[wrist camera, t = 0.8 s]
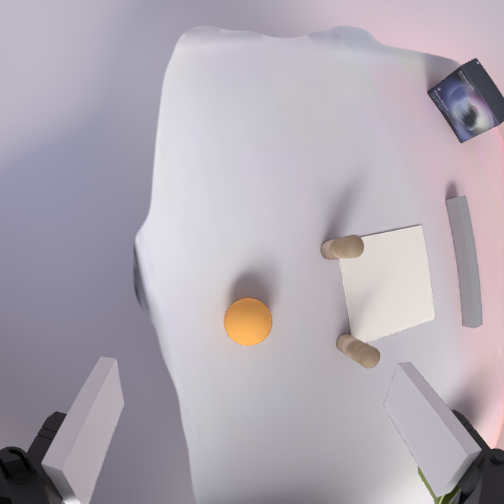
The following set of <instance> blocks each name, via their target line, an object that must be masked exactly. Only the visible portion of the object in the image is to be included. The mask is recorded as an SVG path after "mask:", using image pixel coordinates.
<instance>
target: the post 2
mask: <svg viewBox="0 0 504 504" xmlns="http://www.w3.org/2000/svg"><path fill="white" fill-rule="evenodd" d="M336 345H337V348H338V349H339V350H340V351H342V352H343V353H345V354H346V355H348V356H349V357H350V358H352V359H353V360H355V361H356V362H358V363H359V364H361V365H362V366H364V367H365V368H372V367H374V366H376V365H377V363H378V362H379V360H380V353H379V351H378V350H377V349H376V348H374V347H372V346H370V345H368V344H366V343H364V342H362V341H361V340H359V339H357V338H355V337H353V336H351V335H349V334H342V335H341V336H340V337H339V338H338V339H337V342H336Z"/></svg>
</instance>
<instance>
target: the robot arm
mask: <svg viewBox="0 0 504 504" xmlns="http://www.w3.org/2000/svg"><path fill="white" fill-rule="evenodd" d="M123 406H124V400H123V396H122V390H121V384H120V379H119V372H118V366H117V359H116V358H109V357H100V359H99V360H98V362H97V364H96V365H95V367H94V369H93V370H92V372H91V374H90V375H89V377H88V379H87V381H86V382H85V384H84V386H83V387H82V389H81V391H80V393H79V394H78V396H77V398H76V400H75V401H74V403H73V405H72V407H71V409H70V410H69V412H68V414H64V413H60V412H55V413H53V414H52V415H51V416H49V417H48V418H47V419H46V421H45V422H44V424H43V426H42V429H40V431H39V432H38V436H36V438H35V439H34V441H33V443H32V445H31V446H30V448H29V450H28V452H27V453H26V452H25V451H23V450H22V449H21V448H18V447H6V448H3V449H1V450H0V504H61V503H62V500H63V501H64V502H65V504H89V502H90V499H91V496H92V493H93V490H94V487H95V484H96V481H97V478H98V475H99V472H100V469H101V466H102V464H103V461H104V458H105V455H106V452H107V449H108V447H109V444H110V441H111V438H112V435H113V433H114V430H115V427H116V424H117V422H118V419H119V417H120V414H121V411H122V409H123ZM383 407H384V408H385V410H386V412H387V413H388V415H389V417H390V418H391V420H392V422H393V423H394V425H395V427H396V428H397V430H398V432H399V433H400V435H401V437H402V438H403V440H404V442H405V444H406V445H407V447H408V449H409V450H410V452H411V454H412V456H413V457H414V459H415V461H416V463H417V464H418V466H419V468H420V469H421V471H422V473H423V475H424V476H425V478H426V480H427V482H428V484H429V485H430V487H431V489H432V491H433V492H434V494H435V496H436V498H437V497H440V496H443V495H445V494H448V493H450V492H451V491H452V490H453V489H454V487H455V486H456V485H457V484H458V486H459V487H460V489H459V490H458V492H457V493H456V494H455V495H454V497H453V498H452V499H451V500H450V502H449V504H451V503H452V502H453V501H454V500H455V503H454V504H504V451H503V450H501V449H495V448H494V449H490V447H489V446H488V445H487V444H486V442H485V441H484V440H483V439H482V437H481V436H480V435H479V434H478V433H477V431H476V430H474V428H473V426H472V425H471V424H469V422H468V420H467V419H466V418H465V417H464V415H462V414H461V413H459V412H458V411H456V410H452V411H451V410H450V409H449V408H448V407H447V405H446V404H445V403H444V402H443V400H442V399H441V398H440V397H439V396H438V394H437V393H436V392H435V391H434V389H433V388H432V387H431V386H430V385H429V383H428V382H427V381H426V380H425V379H424V378H423V376H422V375H421V374H420V373H419V372H418V370H417V369H416V368H415V367H414V366H413V365H412V363H411V362H407V363H398V365H397V368H396V371H395V374H394V377H393V380H392V383H391V386H390V388H389V391H388V394H387V397H386V399H385V402H384V405H383Z"/></svg>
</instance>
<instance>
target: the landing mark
mask: <svg viewBox="0 0 504 504" xmlns="http://www.w3.org/2000/svg"><path fill="white" fill-rule="evenodd" d="M360 238H361V239H362V240H363V243H364V251H363V253H362V254H361V255H360V256H359V257H357V258H345V259H339V264H340V270H341V275H342V281H343V287H344V293H345V299H346V305H347V312H348V318H349V325H350V332H351V336H353V337H355V338H357V339H359V340H361V341H362V342H364V343H366V342H369V341H372V340H376V339H379V338H382V337H385V336H388V335H391V334H394V333H397V332H400V331H403V330H405V329H408V328H411V327H414V326H417V325H419V324H422V323H425V322H428V321H430V320H433V319H435V315H434V304H433V295H432V287H431V279H430V271H429V265H428V258H427V252H426V246H425V240H424V235H423V229H422V225H419V226H414V227H409V228H404V229H400V230H395V231H390V232H385V233H380V234H375V235H370V236H365V237H360Z"/></svg>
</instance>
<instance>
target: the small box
mask: <svg viewBox="0 0 504 504" xmlns="http://www.w3.org/2000/svg"><path fill="white" fill-rule="evenodd" d="M428 94H429V96H430V97H431V99H432V100H433V101H434V103H435V104H436V106H437V107H438V108H439V110H440V111H441V113H442V114H443V116H444V117H445V119H446V120H447V122H448V123H449V125H450V126H451V128H452V129H453V131H454V133H455V134H456V136H457V137H458V139H459V141H460V143H463V142H464V141H466V140H469V139H471V138H473V137H475V136H477V135H479V134H481V133H483V132H485V131H487V130H489V129H491V128H494V127H496V126H498V125H500V124H501V123H502V122H503V121H504V97H503V96H502V94H501V93H500V91H499V90H498V88H497V87H496V85H495V84H494V82H493V81H492V79H491V78H490V76H489V75H488V73H487V72H486V71H485V69H484V68H483V66H482V65H481V64H480V62H479V61H478V60H477V58H475V59H473V60H471V61H469V62H467V63H465V64H463V65H461V66H460V67H459V68H458V69H456V70H455V71H454V72H453V73H451V74H450V75H449V76H448V77H446V78H445V79H444V80H443V81H441V82H440V83H439V84H437V85H436V86H435V87H434V88H432V89H431V90H430V91H428Z"/></svg>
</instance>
